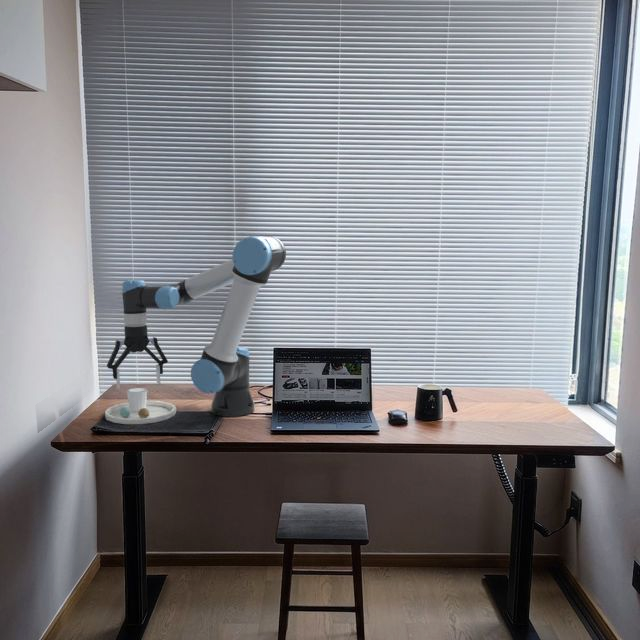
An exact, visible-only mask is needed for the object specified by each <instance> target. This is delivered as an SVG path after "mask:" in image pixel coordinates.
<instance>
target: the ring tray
mask: <svg viewBox="0 0 640 640" xmlns="http://www.w3.org/2000/svg"><path fill="white" fill-rule="evenodd" d="M123 407H128V408H129V404H128V401H127V402H126V401H125V402H123V403H122V402H121V403H118V404H114V405H112V406H109V407H108V408H107V409H106V410H105V411H104V418H105V420H106V421H108V422H112V423H114V424H123V425H144V424H145V425H146V424H152V423H158V422H163V421H166V420H168V419H170V418H173V417H175V414H176V413H177V407H176V406H175V405H174V404H173V403H170V402H167V401H162V400H160V401H158V400H147V401H146V409H148V411H149V416H148V417H147V418H140V417H139V415H138V412H139V411H138V412H133V411H131V414H130V415H129V416H128V417H122V416H121V415H120V410H121V409H122V408H123Z"/></svg>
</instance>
